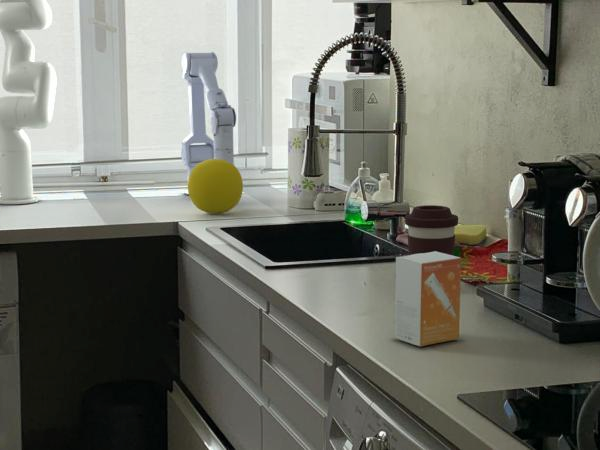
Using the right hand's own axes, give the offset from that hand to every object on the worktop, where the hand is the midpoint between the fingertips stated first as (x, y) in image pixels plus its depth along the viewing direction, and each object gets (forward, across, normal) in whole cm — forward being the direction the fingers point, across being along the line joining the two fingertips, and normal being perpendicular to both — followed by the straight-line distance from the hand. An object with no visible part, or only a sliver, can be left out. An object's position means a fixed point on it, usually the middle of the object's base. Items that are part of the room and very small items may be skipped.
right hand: (224, 195), depth 307 cm
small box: (+2, +142, +57) cm, 153 cm away
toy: (+2, +19, +1) cm, 20 cm away
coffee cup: (+2, +106, +58) cm, 121 cm away
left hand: (-34, +36, -67) cm, 83 cm away
